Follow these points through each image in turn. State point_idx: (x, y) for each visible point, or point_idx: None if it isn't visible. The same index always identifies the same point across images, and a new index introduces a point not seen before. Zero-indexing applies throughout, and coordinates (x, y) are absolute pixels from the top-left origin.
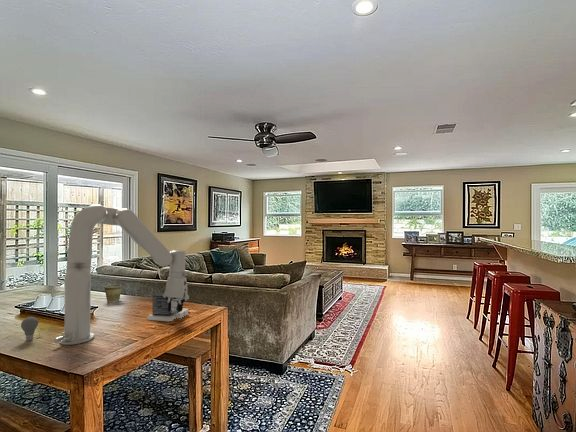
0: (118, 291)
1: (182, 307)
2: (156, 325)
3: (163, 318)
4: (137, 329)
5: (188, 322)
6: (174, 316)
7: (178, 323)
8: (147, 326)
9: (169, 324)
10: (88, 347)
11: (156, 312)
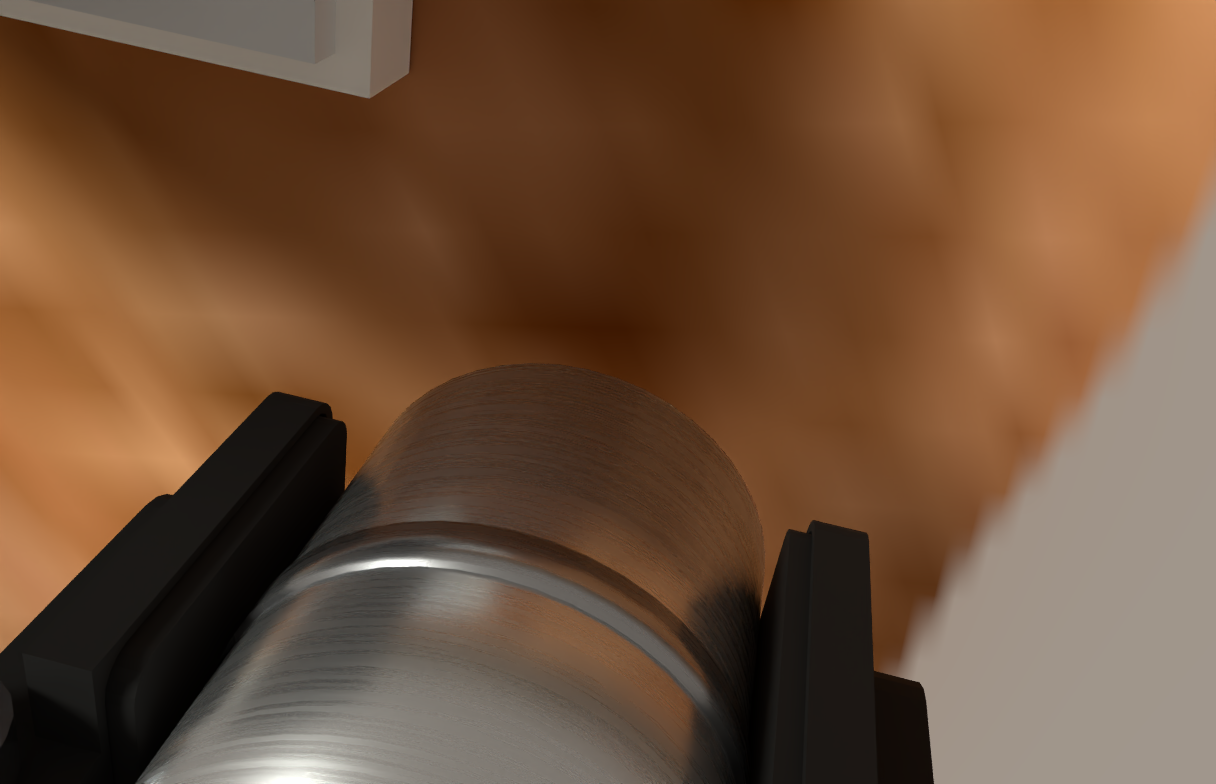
0: None
1: (927, 776)
2: (210, 411)
3: (83, 31)
4: (9, 625)
5: (1104, 151)
6: None
7: (752, 260)
8: (57, 468)
9: (507, 346)
10: None
11: None
